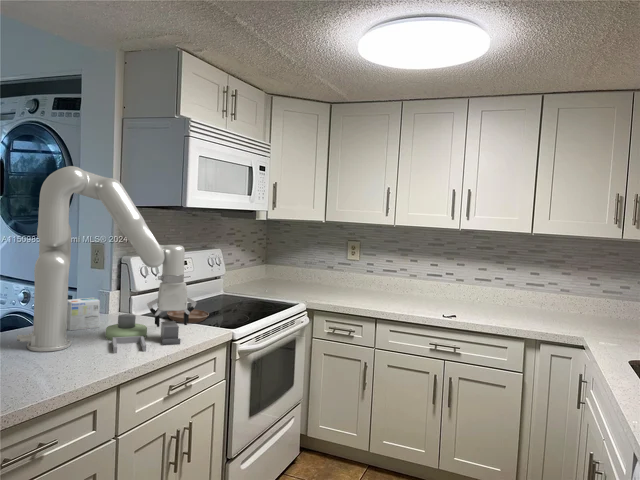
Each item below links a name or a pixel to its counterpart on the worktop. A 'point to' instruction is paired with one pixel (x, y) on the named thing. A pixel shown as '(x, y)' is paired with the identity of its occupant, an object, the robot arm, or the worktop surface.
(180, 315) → the plant saucer
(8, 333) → the worktop surface
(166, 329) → the grey sliding block
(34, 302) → the robot arm
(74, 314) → the light bulb box
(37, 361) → the worktop surface
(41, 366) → the worktop surface
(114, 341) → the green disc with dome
